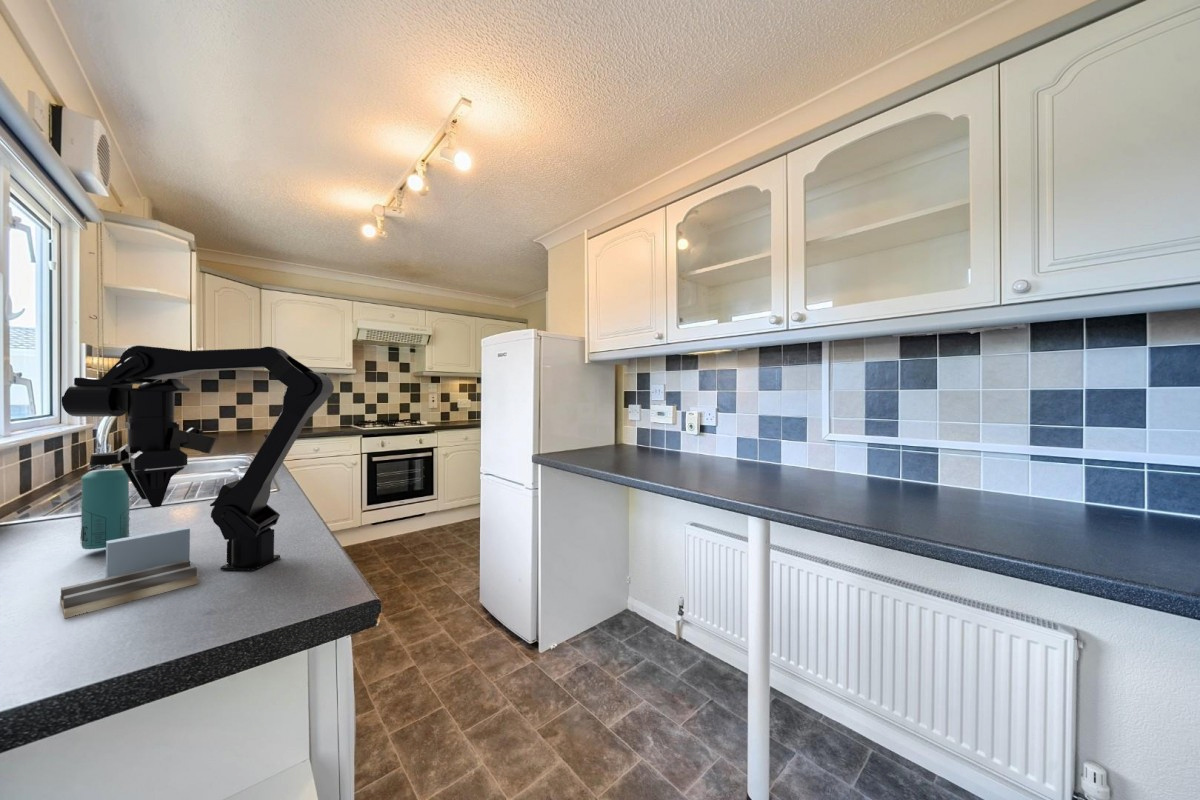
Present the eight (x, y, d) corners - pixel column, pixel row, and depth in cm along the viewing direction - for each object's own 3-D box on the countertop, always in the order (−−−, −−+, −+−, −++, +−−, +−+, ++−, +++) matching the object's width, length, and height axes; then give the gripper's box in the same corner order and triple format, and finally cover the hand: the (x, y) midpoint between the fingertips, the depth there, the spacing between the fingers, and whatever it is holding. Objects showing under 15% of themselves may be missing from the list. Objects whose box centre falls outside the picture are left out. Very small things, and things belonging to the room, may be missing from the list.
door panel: (186, 563, 79) (187, 526, 79) (189, 565, 78) (189, 528, 78) (105, 581, 71) (106, 541, 70) (107, 584, 69) (107, 543, 69)
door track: (186, 571, 75) (186, 557, 75) (198, 583, 70) (198, 568, 70) (60, 601, 63) (60, 585, 63) (64, 618, 59) (64, 601, 59)
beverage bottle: (139, 546, 86) (140, 451, 86) (97, 558, 80) (99, 455, 80) (112, 544, 87) (113, 450, 87) (68, 556, 80) (70, 454, 80)
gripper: (226, 417, 75) (225, 501, 75) (199, 413, 86) (198, 488, 86) (135, 419, 66) (134, 515, 66) (117, 415, 77) (117, 498, 77)
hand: (151, 502), depth 74 cm, fingers open, 9 cm apart
